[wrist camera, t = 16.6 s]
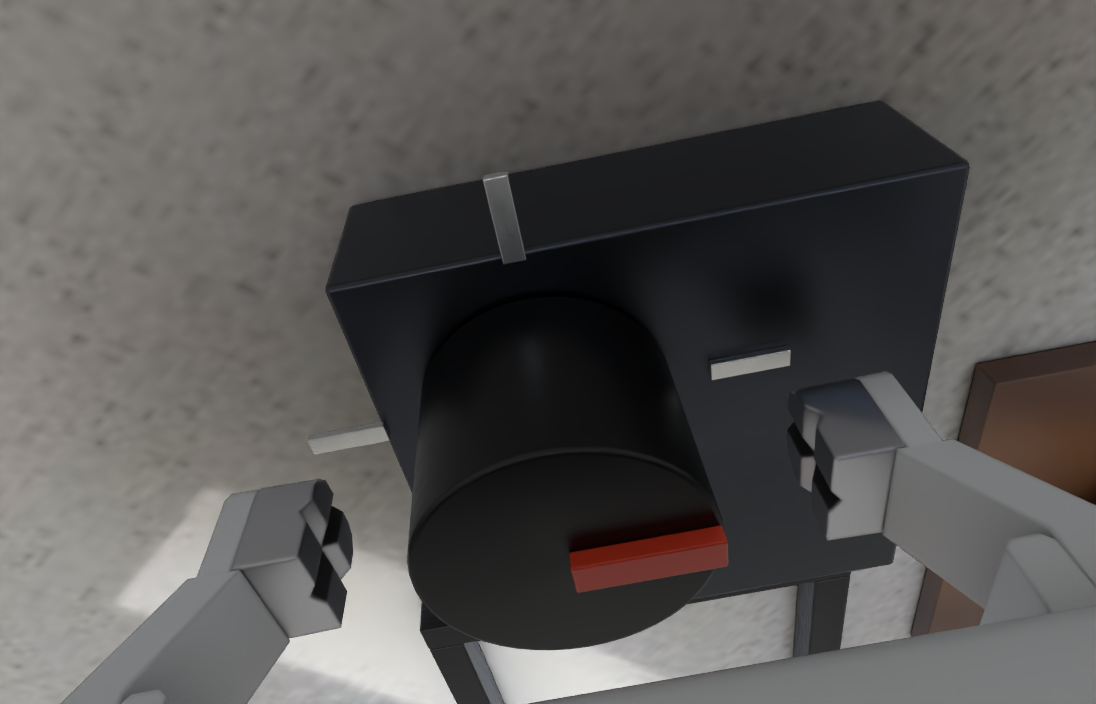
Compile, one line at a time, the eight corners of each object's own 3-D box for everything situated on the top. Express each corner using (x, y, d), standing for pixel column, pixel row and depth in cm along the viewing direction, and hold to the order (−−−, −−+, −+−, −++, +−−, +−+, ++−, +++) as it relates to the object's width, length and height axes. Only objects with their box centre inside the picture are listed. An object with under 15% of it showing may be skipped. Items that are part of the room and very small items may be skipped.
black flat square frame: (421, 593, 21) (418, 631, 20) (836, 519, 20) (854, 554, 19) (506, 772, 28) (508, 805, 27) (814, 719, 28) (826, 752, 27)
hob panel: (252, 152, 13) (198, 236, 10) (890, 22, 12) (998, 77, 10) (426, 546, 20) (419, 654, 17) (841, 471, 19) (897, 571, 17)
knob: (456, 503, 14) (452, 691, 11) (387, 323, 12) (358, 505, 8) (677, 462, 14) (734, 642, 11) (660, 270, 11) (728, 437, 8)
